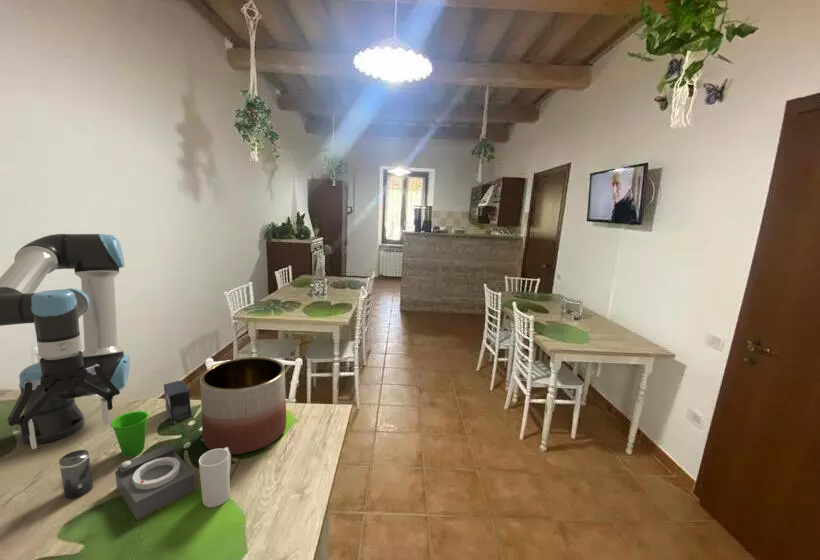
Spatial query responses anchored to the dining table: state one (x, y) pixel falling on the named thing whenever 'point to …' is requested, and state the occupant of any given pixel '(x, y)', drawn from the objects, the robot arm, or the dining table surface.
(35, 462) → the dining table surface
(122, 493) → the camera body
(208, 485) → the mug
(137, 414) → the cup
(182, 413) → the small box
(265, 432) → the planter
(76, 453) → the lens
